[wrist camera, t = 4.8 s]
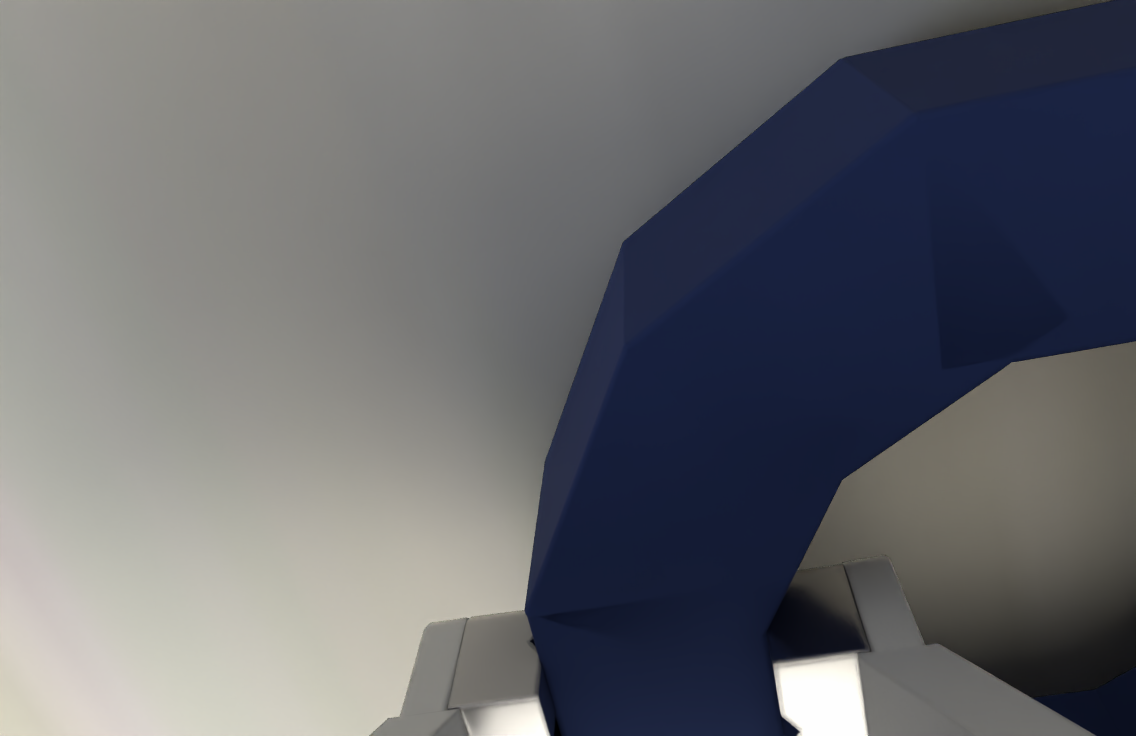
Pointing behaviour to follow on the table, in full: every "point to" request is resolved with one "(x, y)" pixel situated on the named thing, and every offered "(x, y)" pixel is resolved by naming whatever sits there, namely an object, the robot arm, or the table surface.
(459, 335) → the table surface
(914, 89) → the navy ring
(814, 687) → the robot arm
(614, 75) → the table surface
